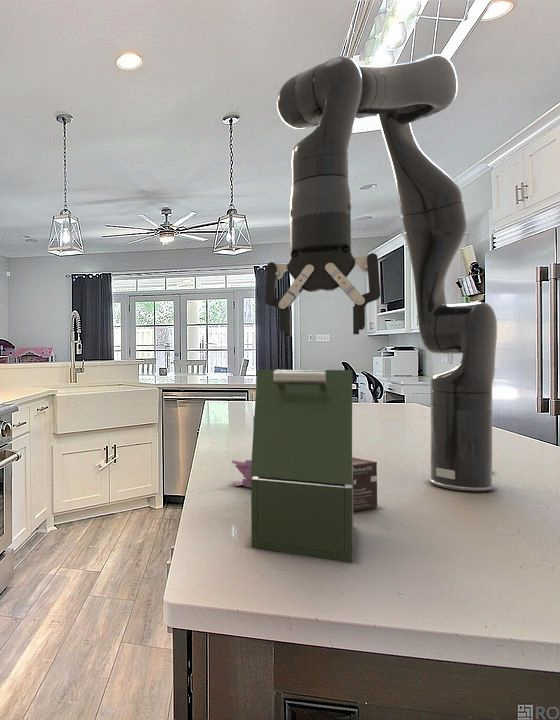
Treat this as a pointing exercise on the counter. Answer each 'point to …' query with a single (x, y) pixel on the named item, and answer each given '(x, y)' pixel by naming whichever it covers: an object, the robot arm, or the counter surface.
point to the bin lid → (303, 426)
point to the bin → (302, 517)
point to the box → (364, 484)
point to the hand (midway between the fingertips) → (321, 335)
